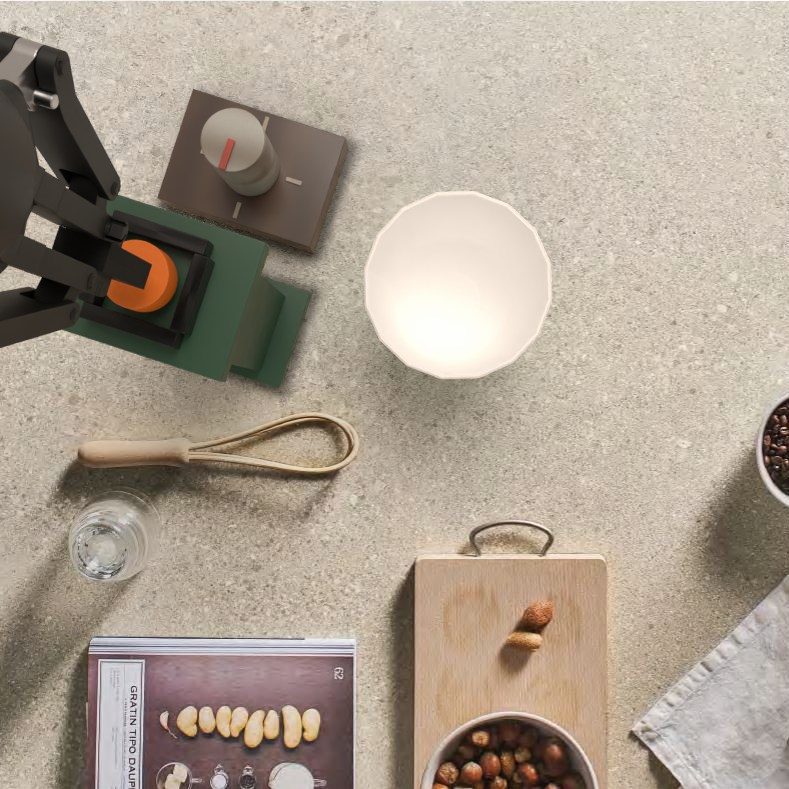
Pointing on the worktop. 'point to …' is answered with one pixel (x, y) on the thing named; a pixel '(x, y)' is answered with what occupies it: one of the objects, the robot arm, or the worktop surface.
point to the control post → (202, 302)
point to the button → (158, 282)
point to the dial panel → (282, 201)
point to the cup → (457, 285)
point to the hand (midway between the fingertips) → (124, 269)
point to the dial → (240, 151)
